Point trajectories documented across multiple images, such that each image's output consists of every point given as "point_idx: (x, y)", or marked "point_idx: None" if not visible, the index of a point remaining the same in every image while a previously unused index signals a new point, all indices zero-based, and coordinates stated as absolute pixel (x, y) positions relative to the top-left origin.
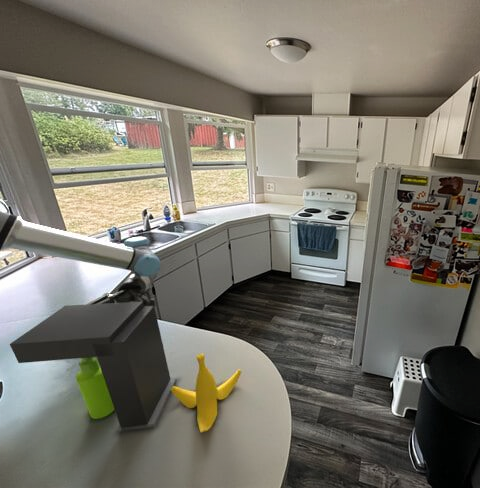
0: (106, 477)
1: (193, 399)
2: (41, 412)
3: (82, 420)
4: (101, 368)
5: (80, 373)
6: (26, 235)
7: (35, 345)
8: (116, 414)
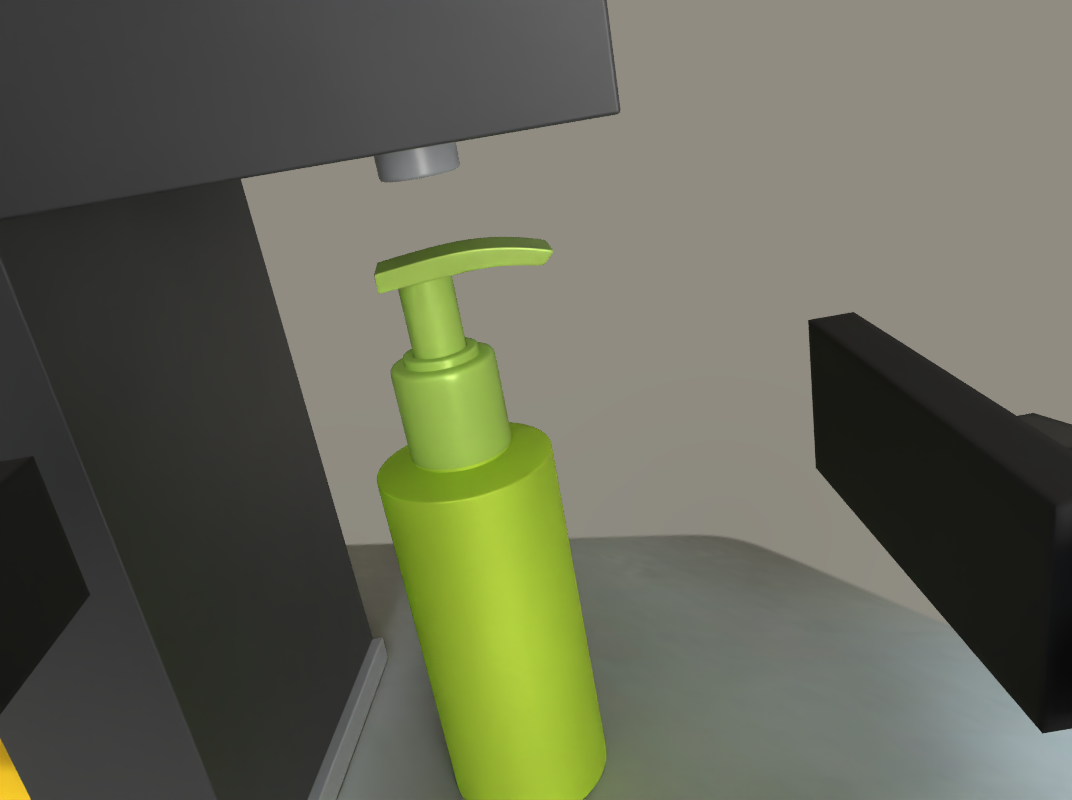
0: (382, 551)
1: (3, 748)
2: (960, 751)
3: (620, 703)
4: (254, 239)
5: (522, 435)
6: None
7: None
8: (346, 552)
